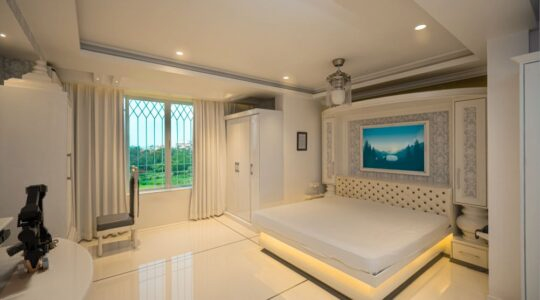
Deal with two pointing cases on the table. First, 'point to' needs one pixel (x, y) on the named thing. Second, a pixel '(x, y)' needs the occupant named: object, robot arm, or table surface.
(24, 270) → the board
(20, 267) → the clamp jaws
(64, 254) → the table surface
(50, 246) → the alarm clock
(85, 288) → the table surface
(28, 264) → the orange-tan rounded capsule
